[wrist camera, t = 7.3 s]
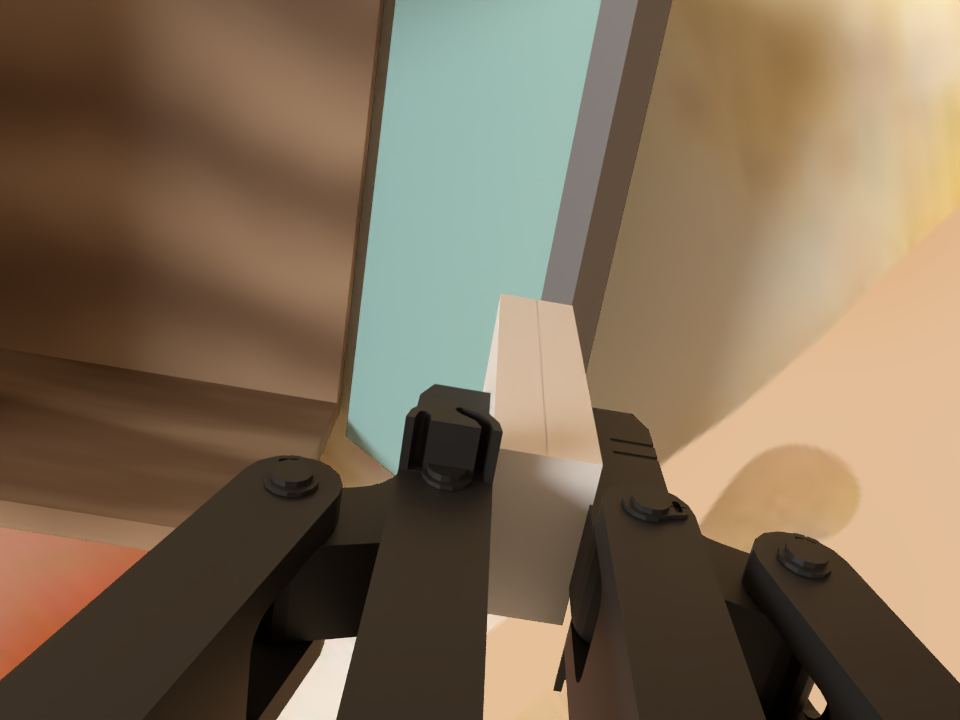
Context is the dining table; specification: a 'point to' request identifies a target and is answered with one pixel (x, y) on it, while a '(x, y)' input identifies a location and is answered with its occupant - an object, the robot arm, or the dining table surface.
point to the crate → (172, 248)
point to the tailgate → (493, 185)
